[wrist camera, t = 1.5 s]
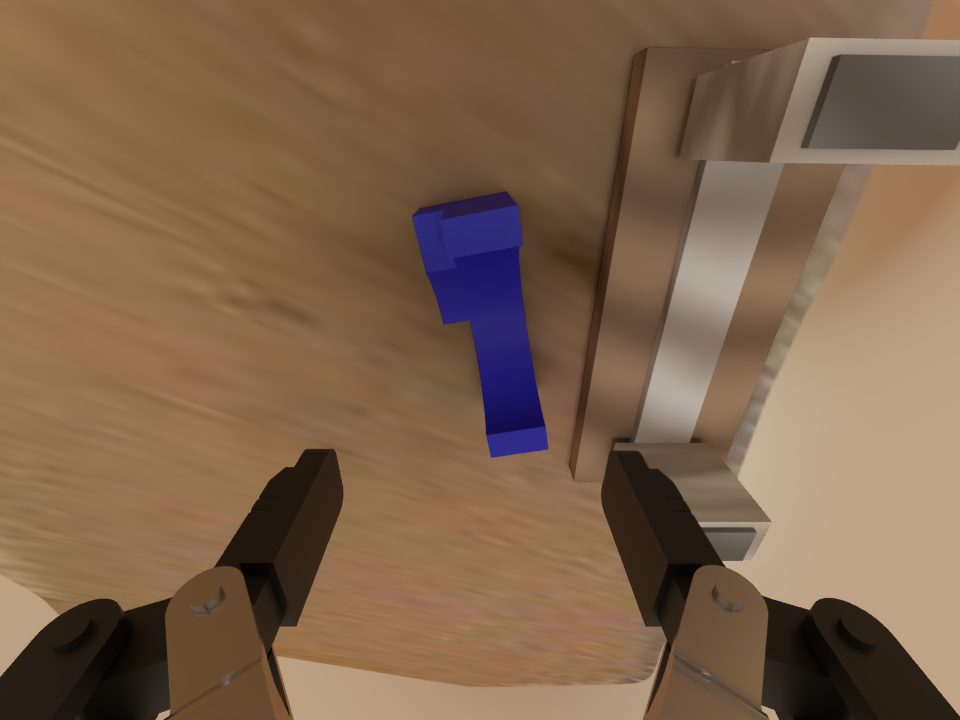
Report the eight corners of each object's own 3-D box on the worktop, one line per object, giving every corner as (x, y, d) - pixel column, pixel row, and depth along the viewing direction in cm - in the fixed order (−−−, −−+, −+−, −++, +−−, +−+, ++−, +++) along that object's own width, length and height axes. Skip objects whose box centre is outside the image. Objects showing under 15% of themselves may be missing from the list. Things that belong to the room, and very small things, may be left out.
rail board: (634, 55, 17) (756, -18, 10) (859, 59, 17) (1147, -11, 10) (569, 466, 28) (601, 577, 21) (705, 466, 29) (785, 577, 21)
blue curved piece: (420, 207, 20) (401, 227, 15) (506, 191, 20) (517, 205, 15) (465, 398, 26) (463, 461, 20) (532, 387, 25) (548, 449, 20)
